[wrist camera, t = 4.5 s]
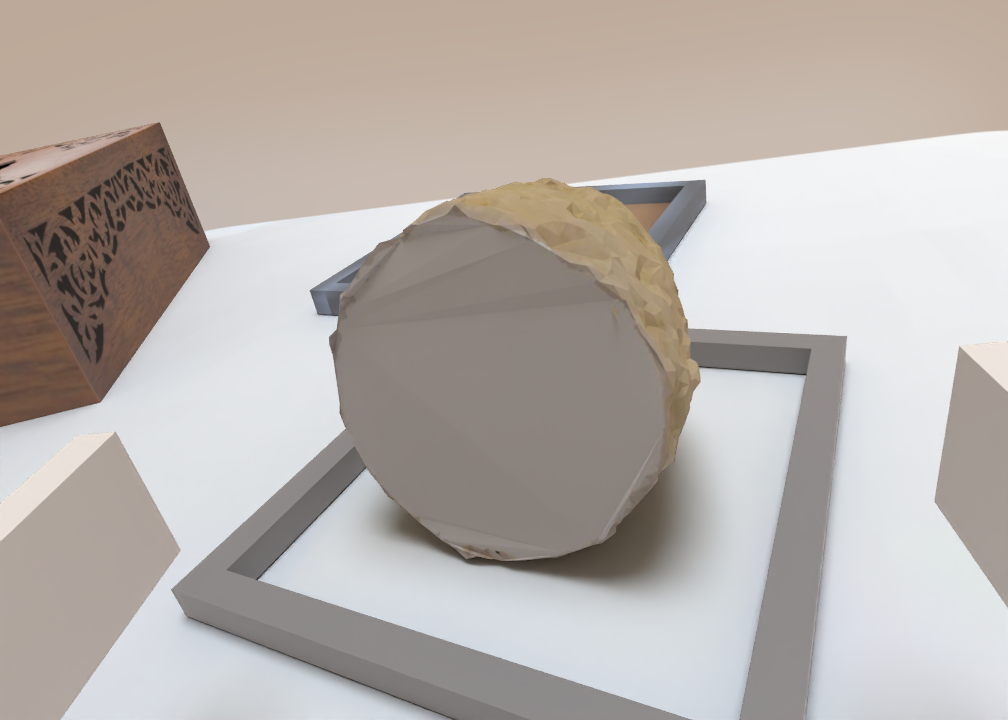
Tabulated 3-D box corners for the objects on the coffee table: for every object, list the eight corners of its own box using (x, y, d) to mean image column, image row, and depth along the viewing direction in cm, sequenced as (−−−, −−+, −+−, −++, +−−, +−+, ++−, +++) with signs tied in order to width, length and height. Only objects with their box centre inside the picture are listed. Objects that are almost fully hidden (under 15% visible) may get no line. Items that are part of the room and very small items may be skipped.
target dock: (317, 314, 36) (309, 290, 35) (468, 211, 49) (464, 193, 48) (620, 329, 28) (617, 299, 27) (706, 202, 41) (705, 179, 40)
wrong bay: (186, 615, 18) (170, 589, 17) (470, 337, 30) (466, 317, 29) (791, 848, 11) (792, 814, 10) (844, 362, 23) (847, 336, 22)
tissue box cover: (103, 407, 31) (-12, 198, 27) (-224, 487, 30) (-404, 282, 25) (211, 249, 54) (159, 122, 49) (28, 291, 53) (-43, 164, 48)
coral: (163, 391, 14) (360, 107, 19) (405, 570, 21) (503, 327, 26) (566, 413, 9) (688, 24, 14) (708, 636, 16) (756, 323, 21)
